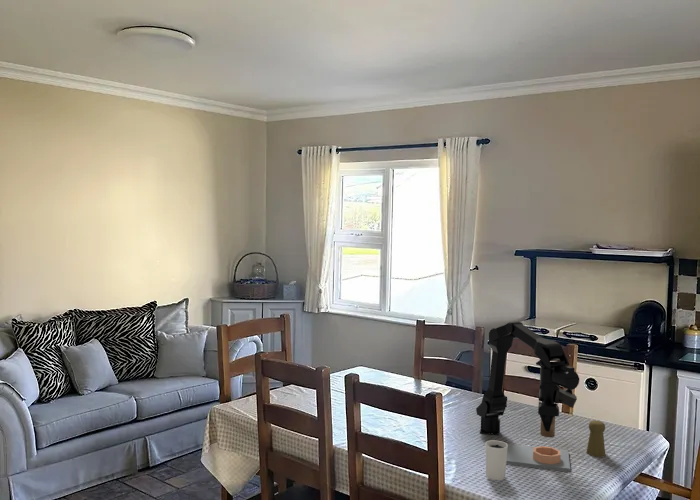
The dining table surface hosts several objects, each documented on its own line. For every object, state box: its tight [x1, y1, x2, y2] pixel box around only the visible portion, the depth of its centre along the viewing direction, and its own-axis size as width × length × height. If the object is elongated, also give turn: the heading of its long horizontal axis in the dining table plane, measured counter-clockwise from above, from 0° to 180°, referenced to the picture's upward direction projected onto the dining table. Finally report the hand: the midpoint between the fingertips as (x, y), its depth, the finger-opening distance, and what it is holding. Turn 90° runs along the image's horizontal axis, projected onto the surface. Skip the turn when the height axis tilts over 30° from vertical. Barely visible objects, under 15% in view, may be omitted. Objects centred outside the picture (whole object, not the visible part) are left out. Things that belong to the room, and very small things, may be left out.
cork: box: [586, 419, 606, 458], centre depth 213 cm, size 6×6×11 cm
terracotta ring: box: [533, 445, 561, 464], centre depth 206 cm, size 8×8×2 cm
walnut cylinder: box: [539, 416, 556, 438], centre depth 205 cm, size 4×4×8 cm
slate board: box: [506, 443, 571, 473], centre depth 209 cm, size 20×16×1 cm
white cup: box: [484, 439, 508, 481], centre depth 194 cm, size 7×7×10 cm
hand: (547, 428), depth 205 cm, fingers closed on walnut cylinder, 4 cm apart
